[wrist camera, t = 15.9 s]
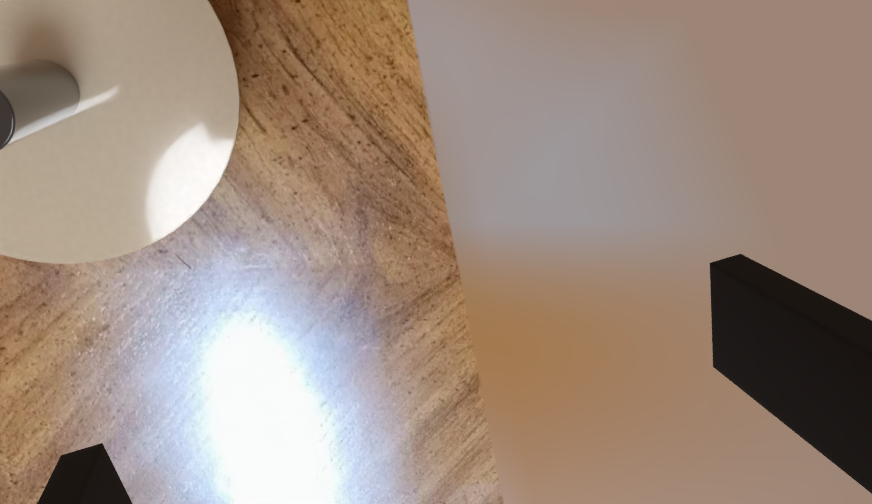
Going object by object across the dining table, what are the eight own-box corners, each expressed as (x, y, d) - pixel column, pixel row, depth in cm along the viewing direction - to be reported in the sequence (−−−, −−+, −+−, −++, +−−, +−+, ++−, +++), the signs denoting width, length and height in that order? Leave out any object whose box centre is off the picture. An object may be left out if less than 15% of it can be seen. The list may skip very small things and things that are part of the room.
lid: (173, -147, 28) (128, -217, 20) (281, 209, 34) (283, 271, 26) (-251, -74, 26) (-509, -119, 17) (-49, 293, 32) (-166, 392, 24)
